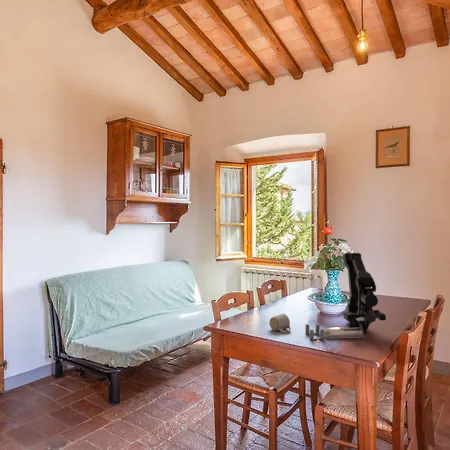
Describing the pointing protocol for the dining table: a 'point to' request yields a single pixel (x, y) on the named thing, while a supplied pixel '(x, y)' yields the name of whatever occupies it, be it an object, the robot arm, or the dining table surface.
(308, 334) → the collar rig
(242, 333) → the dining table surface
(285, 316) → the ceramic mug
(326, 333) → the tube
